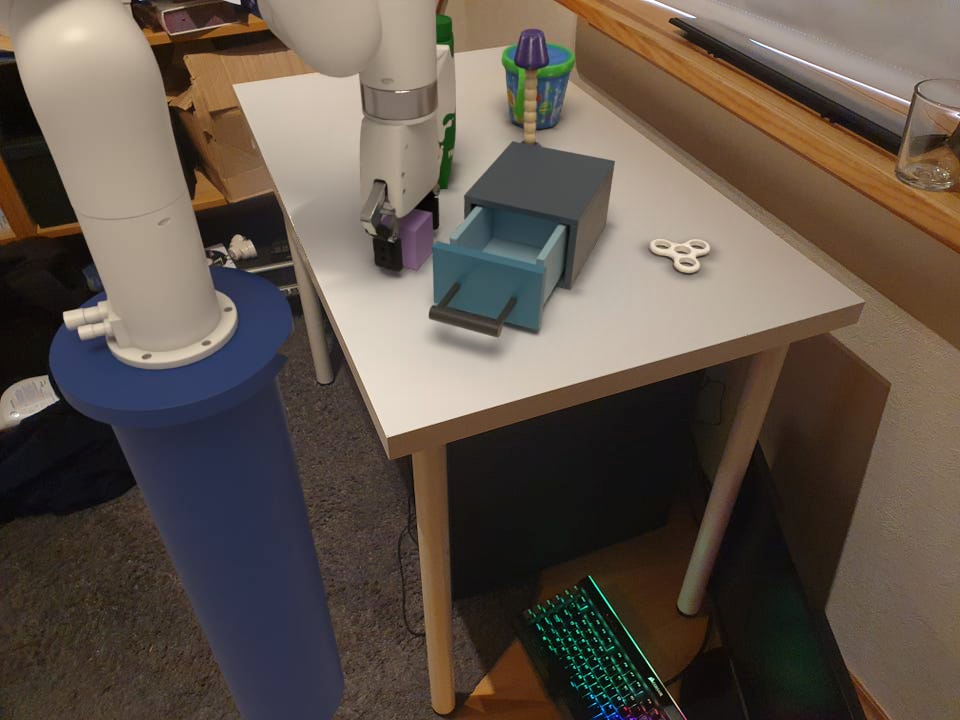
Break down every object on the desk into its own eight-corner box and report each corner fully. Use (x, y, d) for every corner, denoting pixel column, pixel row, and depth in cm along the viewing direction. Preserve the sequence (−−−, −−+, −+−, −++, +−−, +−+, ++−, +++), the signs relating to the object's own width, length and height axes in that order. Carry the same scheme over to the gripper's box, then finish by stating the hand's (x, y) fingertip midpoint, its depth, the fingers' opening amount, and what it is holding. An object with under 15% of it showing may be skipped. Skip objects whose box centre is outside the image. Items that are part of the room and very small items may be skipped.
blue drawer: (518, 365, 69) (522, 307, 64) (408, 334, 72) (405, 277, 68) (577, 261, 82) (583, 207, 78) (483, 239, 86) (484, 186, 81)
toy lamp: (510, 161, 103) (516, 37, 92) (508, 147, 106) (514, 25, 95) (545, 161, 103) (554, 37, 92) (541, 147, 106) (550, 25, 96)
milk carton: (453, 192, 96) (452, 31, 83) (384, 190, 96) (372, 29, 83) (457, 162, 102) (457, 8, 89) (393, 159, 102) (383, 6, 89)
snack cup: (548, 147, 106) (554, 76, 100) (482, 133, 110) (483, 64, 103) (582, 109, 117) (590, 42, 110) (521, 97, 120) (524, 32, 114)
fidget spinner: (694, 277, 82) (696, 271, 81) (639, 260, 84) (640, 255, 84) (712, 247, 86) (713, 242, 86) (659, 233, 89) (660, 227, 88)
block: (416, 270, 82) (415, 231, 79) (381, 261, 83) (378, 222, 80) (433, 250, 85) (432, 212, 82) (399, 242, 86) (397, 204, 83)
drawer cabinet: (570, 289, 80) (578, 220, 74) (463, 263, 83) (463, 195, 78) (605, 226, 90) (615, 160, 84) (509, 205, 94) (512, 140, 88)
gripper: (405, 61, 79) (412, 205, 91) (319, 122, 67) (340, 279, 78) (469, 72, 77) (468, 217, 89) (392, 137, 65) (403, 296, 76)
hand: (408, 246), depth 83 cm, fingers open, 8 cm apart
